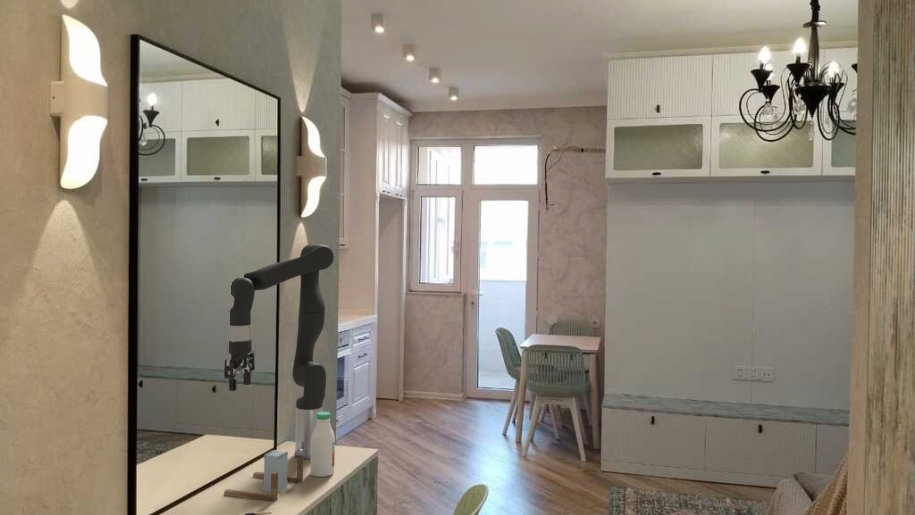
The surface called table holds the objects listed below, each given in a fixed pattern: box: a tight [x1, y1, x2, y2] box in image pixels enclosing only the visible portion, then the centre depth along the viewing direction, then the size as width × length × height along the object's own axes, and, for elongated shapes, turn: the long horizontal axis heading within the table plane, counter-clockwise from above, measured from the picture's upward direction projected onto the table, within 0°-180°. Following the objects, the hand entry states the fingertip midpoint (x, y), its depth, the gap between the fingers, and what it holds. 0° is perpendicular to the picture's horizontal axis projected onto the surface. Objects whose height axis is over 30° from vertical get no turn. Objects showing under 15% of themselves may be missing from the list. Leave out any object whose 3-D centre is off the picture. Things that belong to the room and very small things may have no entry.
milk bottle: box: [309, 411, 336, 478], centre depth 216 cm, size 8×8×20 cm
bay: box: [223, 456, 304, 502], centre depth 203 cm, size 18×17×8 cm
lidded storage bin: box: [263, 449, 289, 494], centre depth 202 cm, size 5×5×11 cm
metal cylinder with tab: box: [294, 441, 306, 459], centre depth 209 cm, size 4×2×4 cm, turn 166°
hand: (240, 387), depth 216 cm, fingers open, 8 cm apart
